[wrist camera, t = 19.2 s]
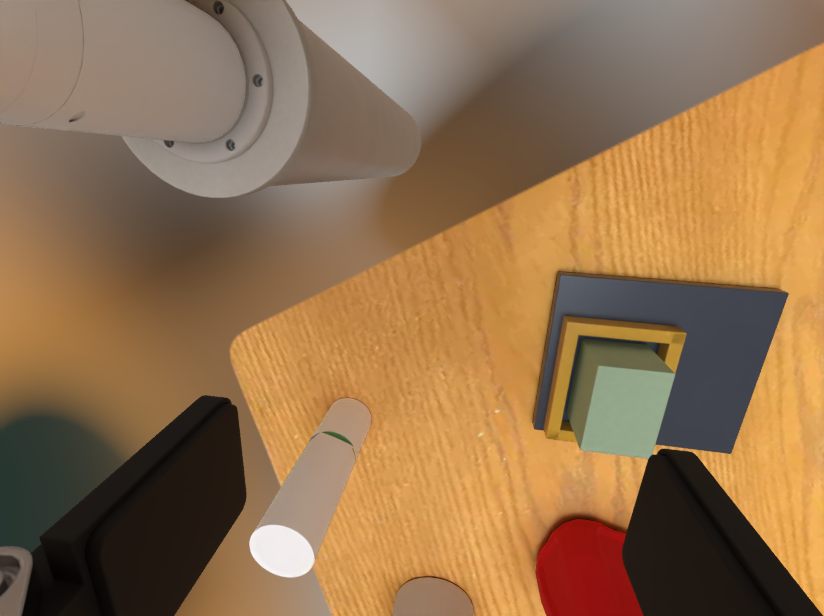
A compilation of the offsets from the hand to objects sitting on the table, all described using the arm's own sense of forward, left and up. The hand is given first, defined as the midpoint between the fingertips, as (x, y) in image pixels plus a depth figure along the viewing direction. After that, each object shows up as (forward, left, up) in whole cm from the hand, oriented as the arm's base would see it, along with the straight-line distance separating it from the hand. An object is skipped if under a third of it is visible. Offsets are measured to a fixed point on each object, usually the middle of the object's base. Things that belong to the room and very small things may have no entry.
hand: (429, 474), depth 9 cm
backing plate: (+16, -8, -26) cm, 31 cm away
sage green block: (+12, -9, -24) cm, 29 cm away
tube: (-9, -17, -26) cm, 32 cm away
